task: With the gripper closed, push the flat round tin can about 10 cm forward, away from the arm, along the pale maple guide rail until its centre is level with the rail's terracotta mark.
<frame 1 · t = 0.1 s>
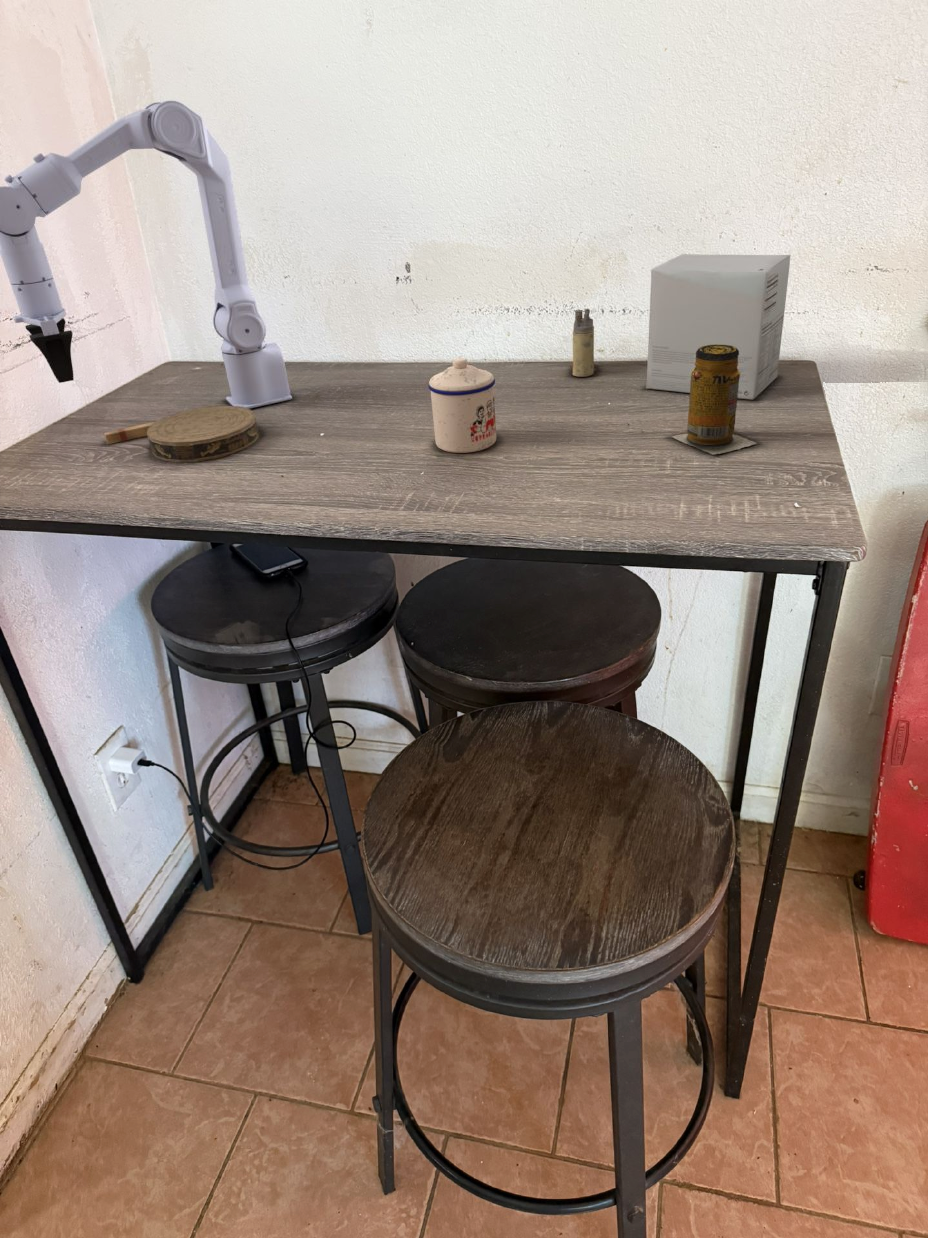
hand: (63, 375, 127), 10 cm above the table, tool pointing down, fingers open, 7 cm apart
guide rail: (166, 430, 134), on the table
supplement box: (711, 384, 133), on the table
teacup with lid: (470, 440, 120), on the table
tin can: (206, 443, 127), on the table
condiment: (713, 442, 112), on the table
lighter: (584, 372, 144), on the table
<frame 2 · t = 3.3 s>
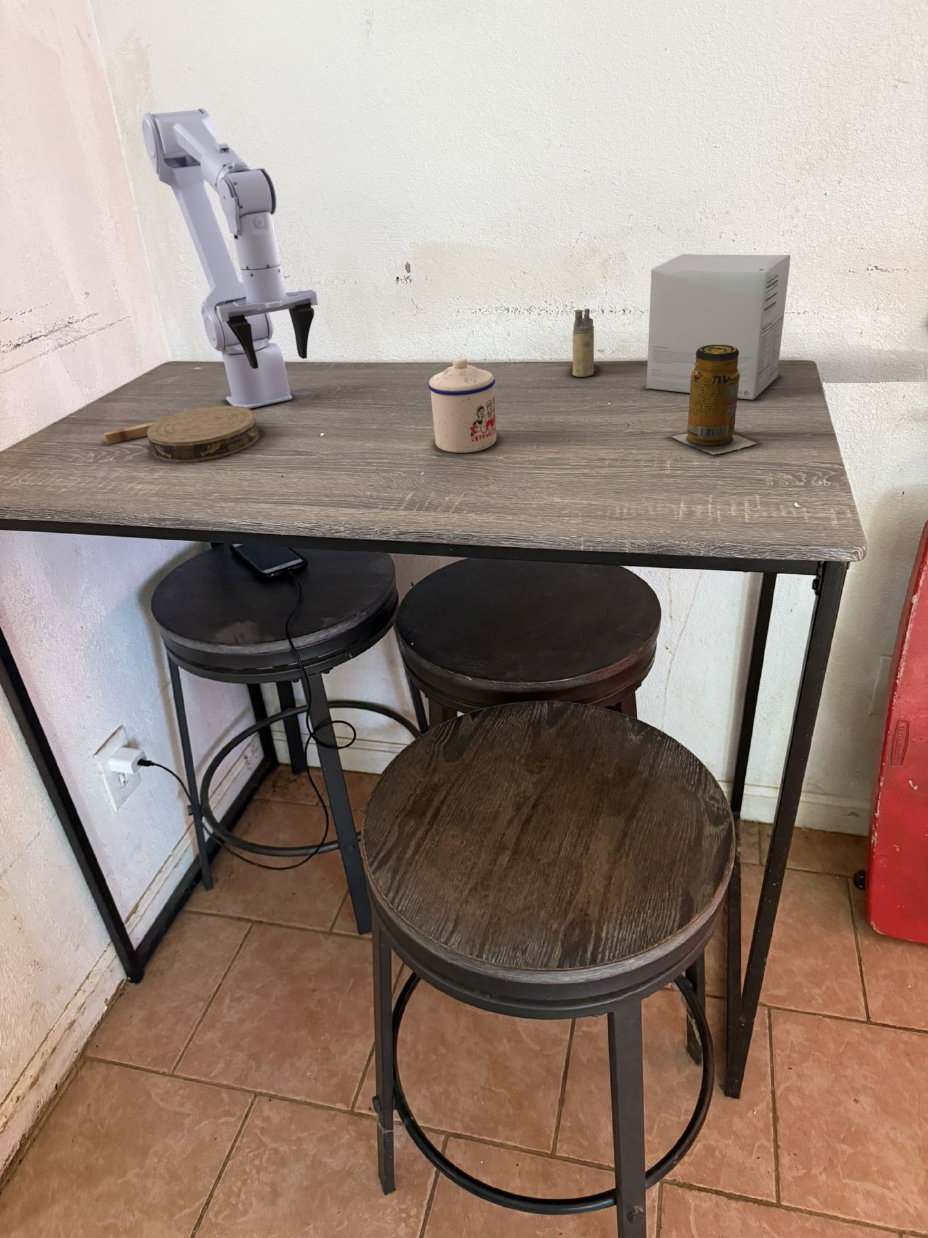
hand: (278, 362, 127), 9 cm above the table, tool pointing down, fingers open, 7 cm apart
nothing on the table moved.
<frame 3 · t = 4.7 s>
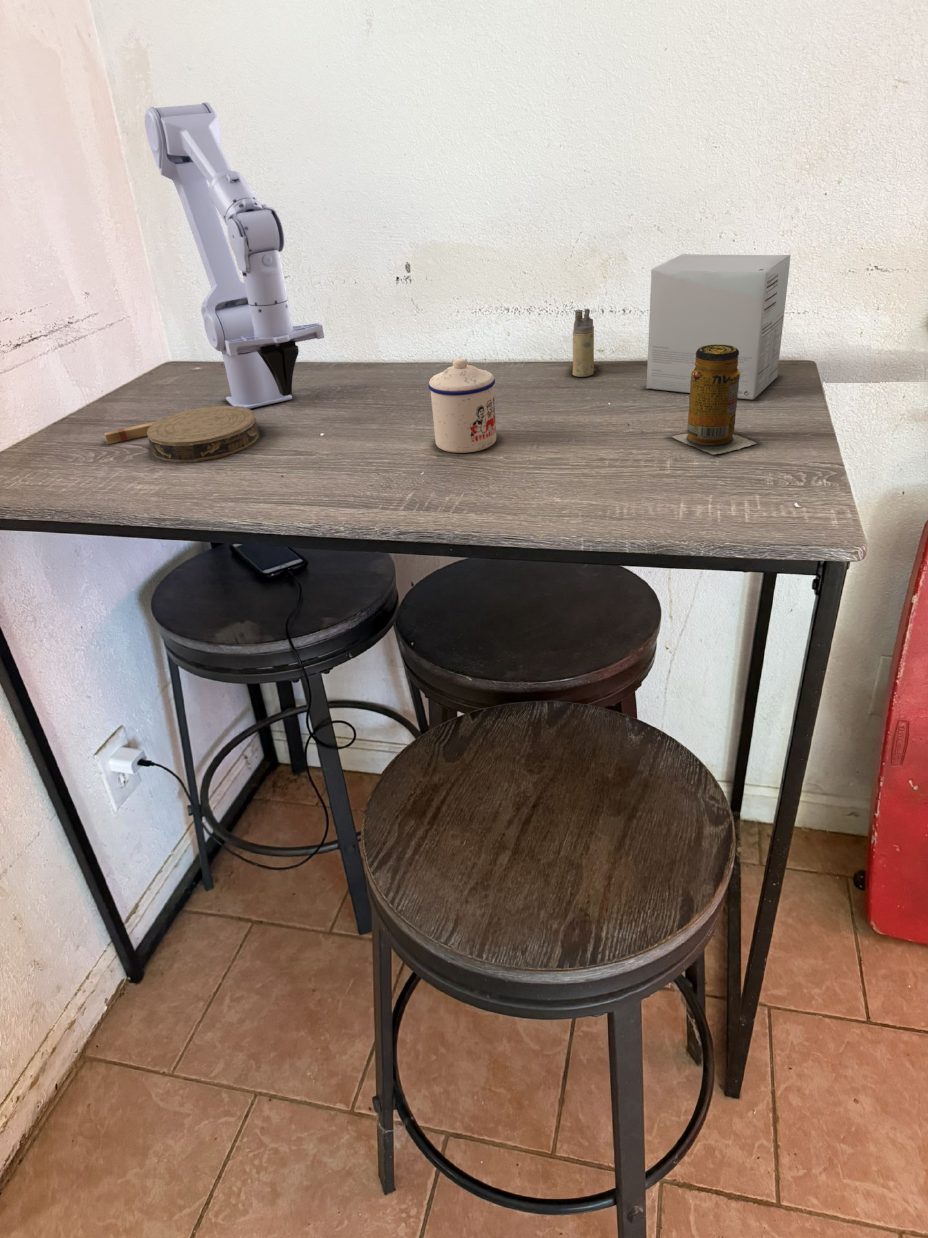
hand: (285, 393, 130), 5 cm above the table, tool pointing down, fingers closed
nothing on the table moved.
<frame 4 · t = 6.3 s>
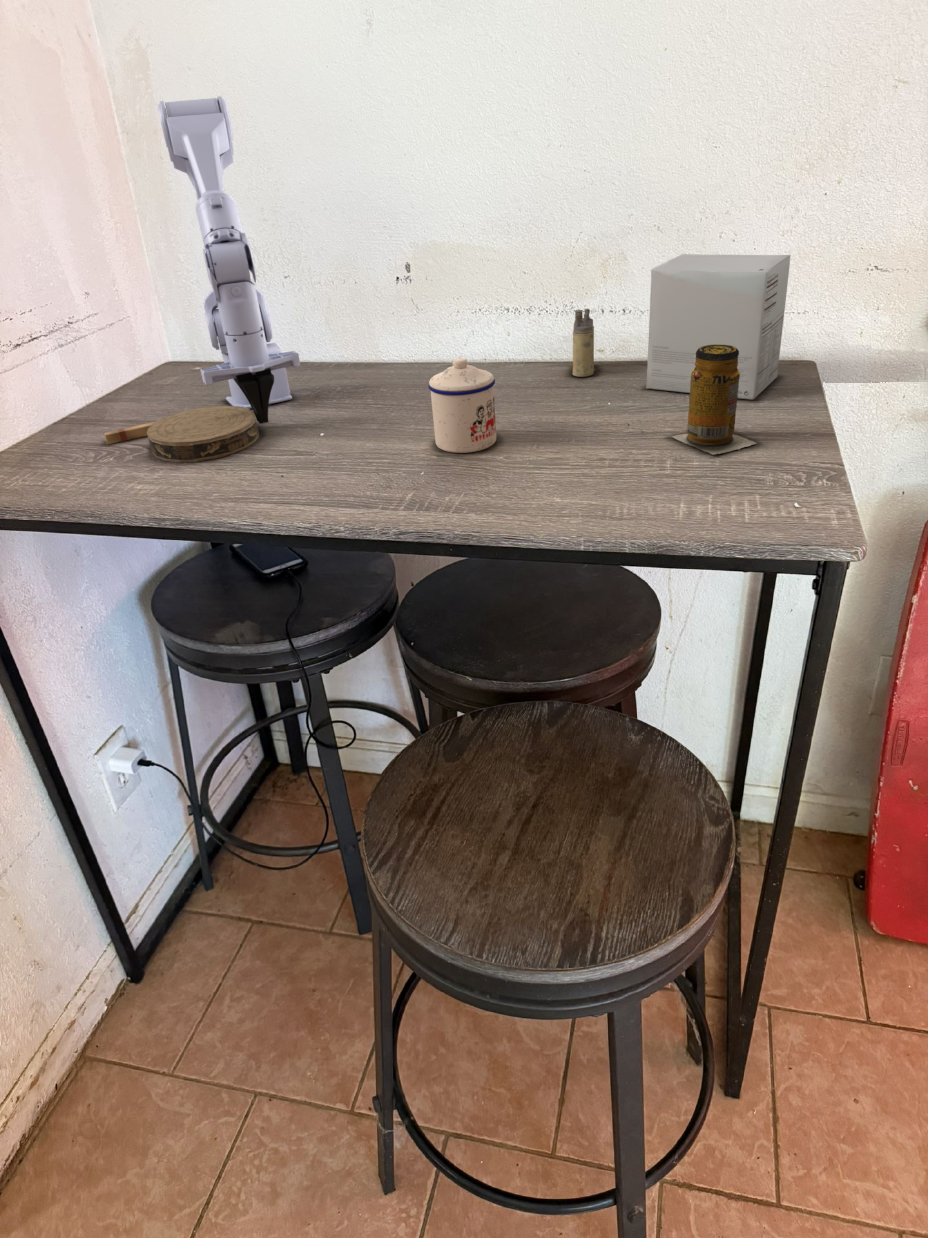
hand: (262, 421, 130), 1 cm above the table, tool pointing down, fingers closed
tin can: (206, 443, 127), on the table, touching gripper
everything else where it was.
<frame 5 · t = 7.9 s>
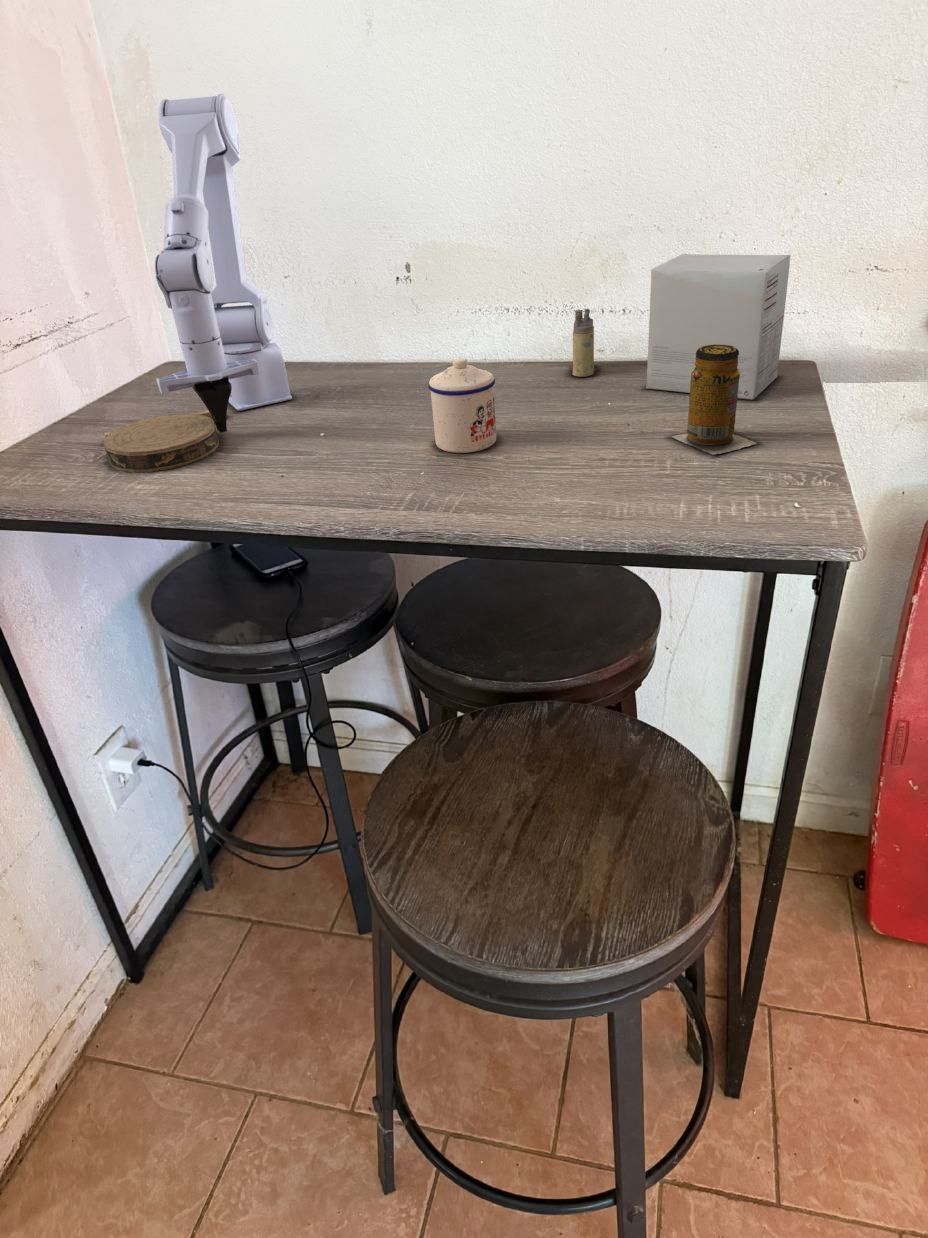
hand: (222, 430, 128), 1 cm above the table, tool pointing down, fingers closed
tin can: (165, 452, 125), on the table, touching gripper
everything else where it was.
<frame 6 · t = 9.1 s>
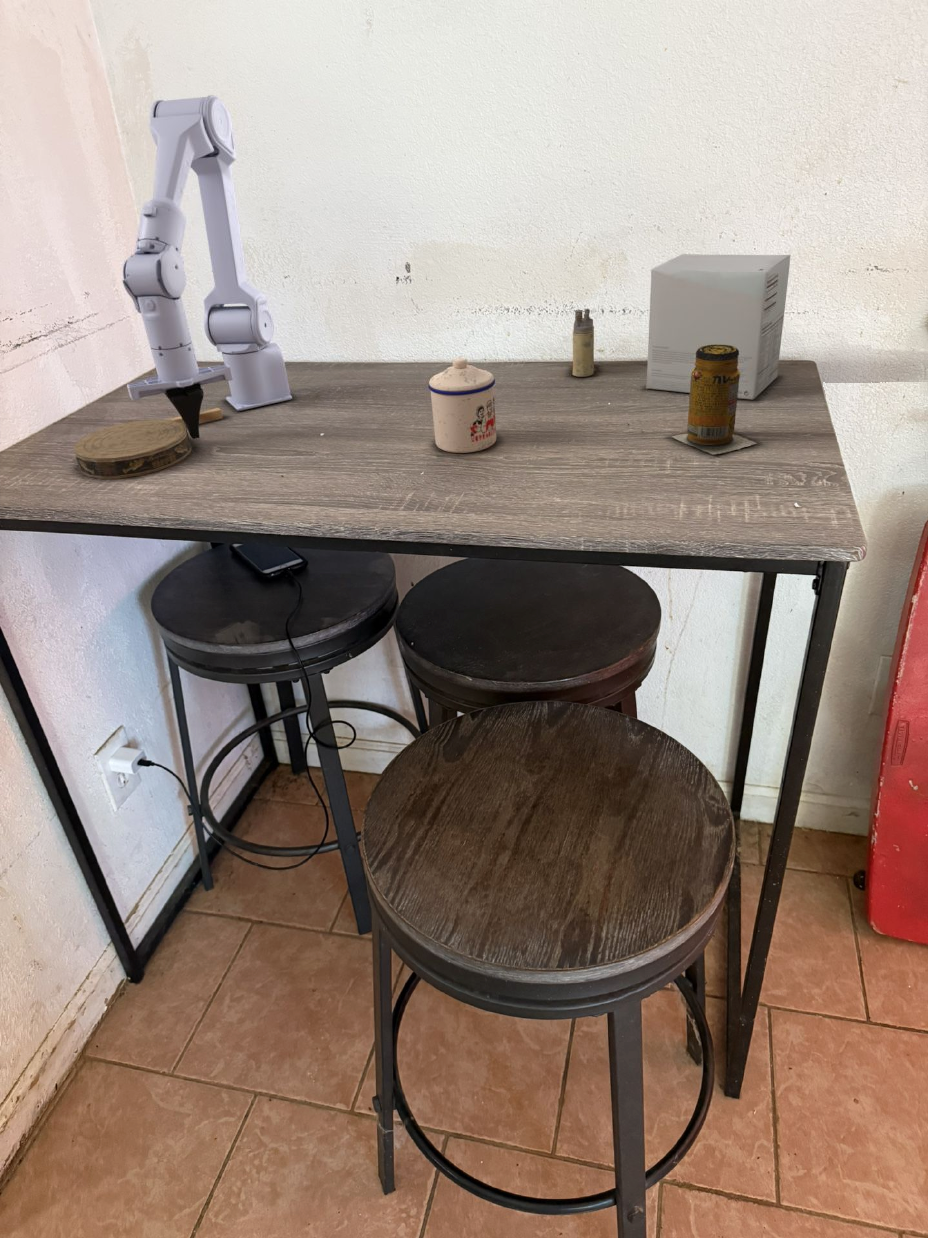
hand: (194, 436, 126), 1 cm above the table, tool pointing down, fingers closed
tin can: (136, 458, 124), on the table, touching gripper
everything else where it was.
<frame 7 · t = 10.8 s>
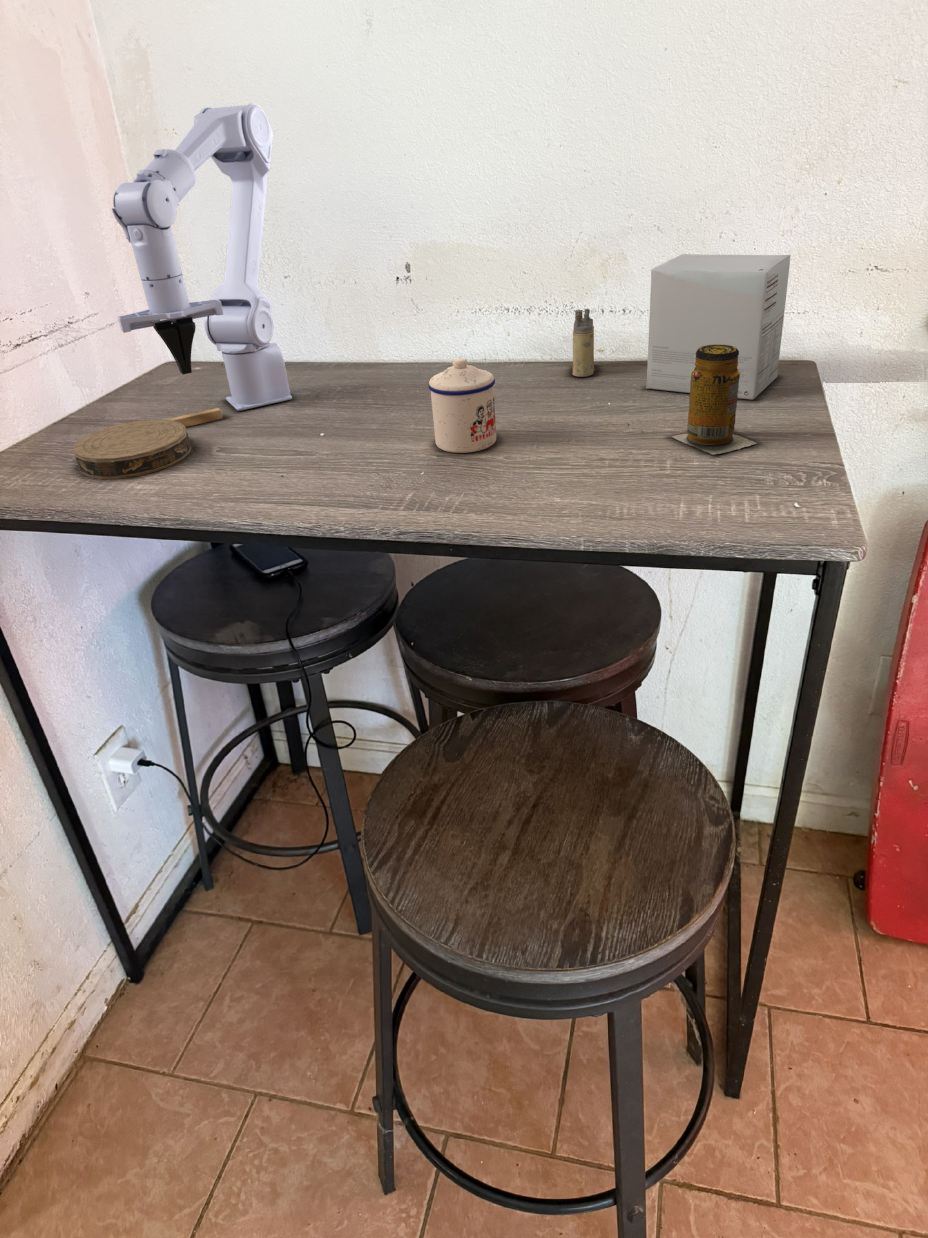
hand: (185, 372, 127), 9 cm above the table, tool pointing down, fingers closed
tin can: (136, 458, 124), on the table
everything else where it was.
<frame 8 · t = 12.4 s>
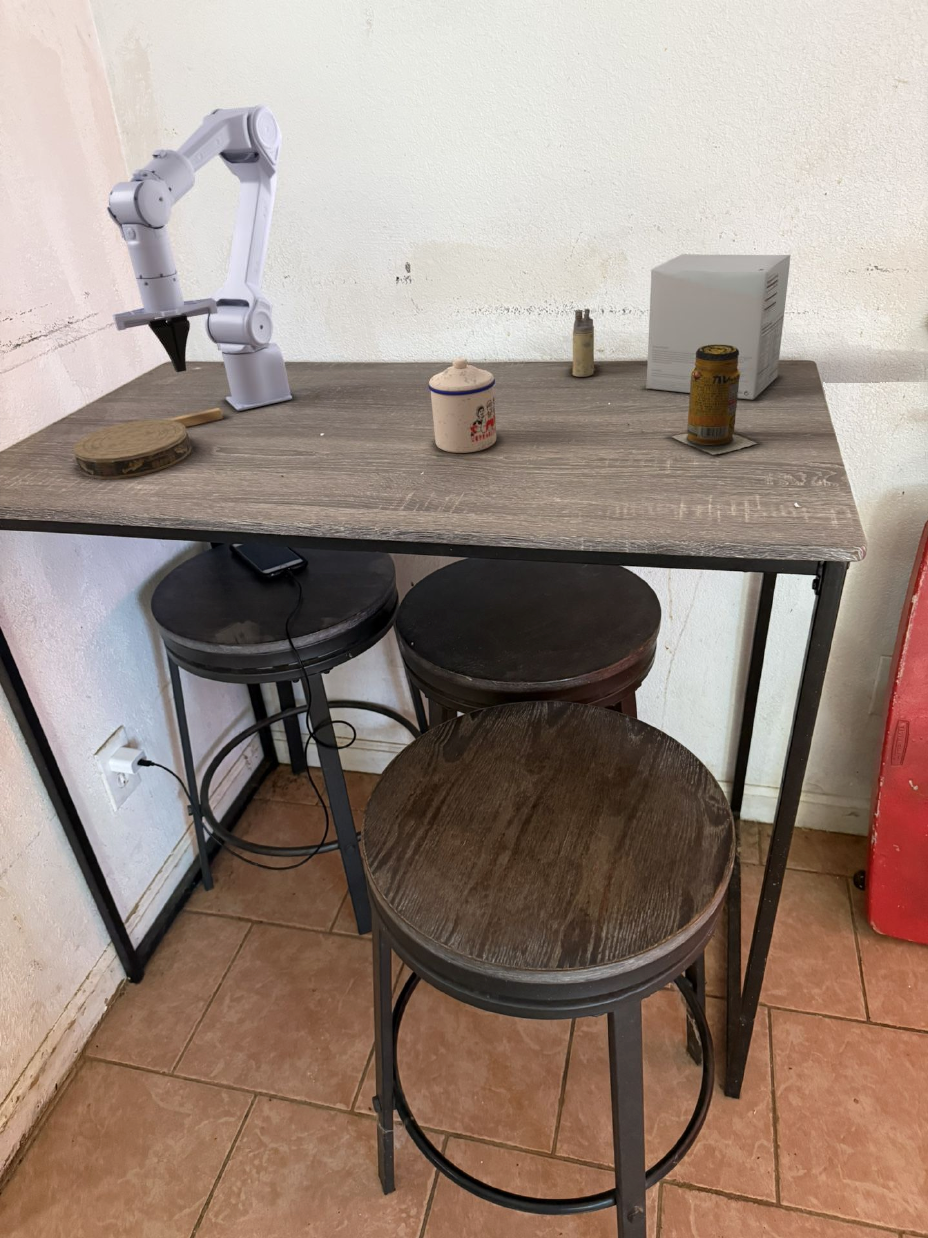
hand: (180, 370, 128), 9 cm above the table, tool pointing down, fingers closed
nothing on the table moved.
at the end: tin can inside the target area (0.7 cm from its centre), on the table; tin can tilted 0°; teacup with lid moved 0.2 cm from its start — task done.
